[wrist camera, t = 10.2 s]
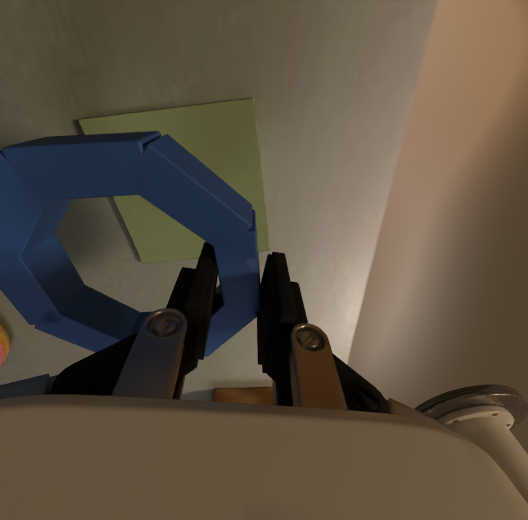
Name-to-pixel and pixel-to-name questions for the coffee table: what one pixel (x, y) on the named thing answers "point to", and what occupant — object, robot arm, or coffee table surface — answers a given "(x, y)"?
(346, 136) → the coffee table surface
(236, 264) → the ring
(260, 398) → the platform
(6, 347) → the doughnut
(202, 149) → the mat
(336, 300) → the coffee table surface
